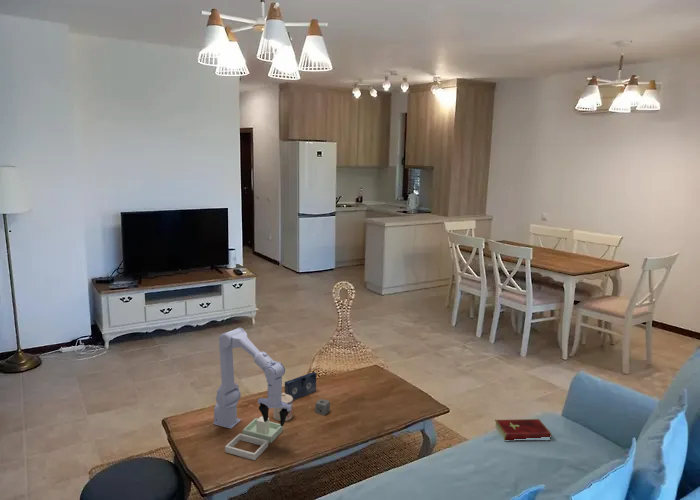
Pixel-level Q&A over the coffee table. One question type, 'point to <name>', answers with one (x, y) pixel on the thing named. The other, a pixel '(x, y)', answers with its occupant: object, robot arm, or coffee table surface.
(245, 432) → the green bin
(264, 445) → the bin
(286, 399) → the teacup with lid
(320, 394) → the coffee table surface
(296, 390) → the vhs cassette tape
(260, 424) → the cream block
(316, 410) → the dice cube
